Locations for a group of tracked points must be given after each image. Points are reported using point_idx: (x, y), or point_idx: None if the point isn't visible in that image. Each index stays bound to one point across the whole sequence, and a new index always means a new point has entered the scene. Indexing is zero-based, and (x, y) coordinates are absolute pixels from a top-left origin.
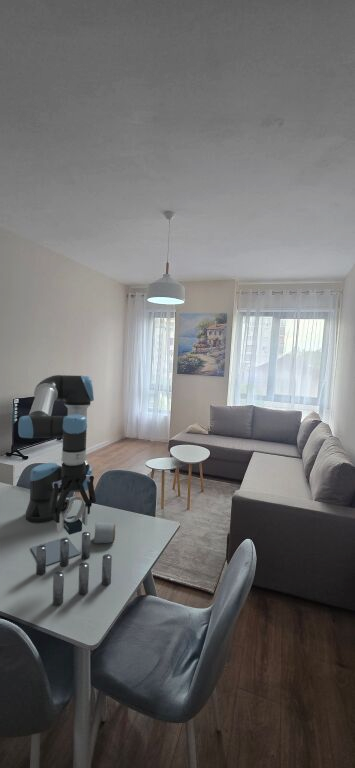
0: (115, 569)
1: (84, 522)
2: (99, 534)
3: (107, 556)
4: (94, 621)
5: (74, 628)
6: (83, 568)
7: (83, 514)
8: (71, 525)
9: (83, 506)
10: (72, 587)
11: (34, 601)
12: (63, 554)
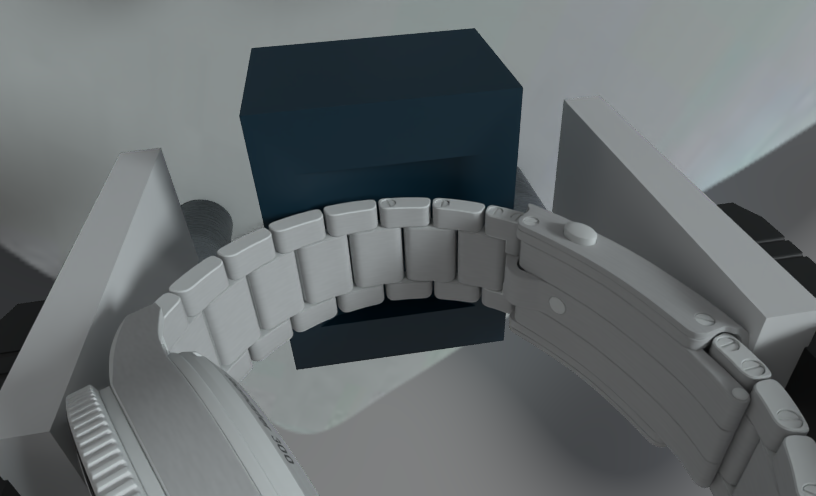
0: (609, 97)
1: (568, 207)
2: None
3: None
4: (344, 372)
5: (257, 376)
6: None
7: (626, 236)
8: (329, 362)
9: (687, 463)
10: None
11: (59, 159)
12: None
